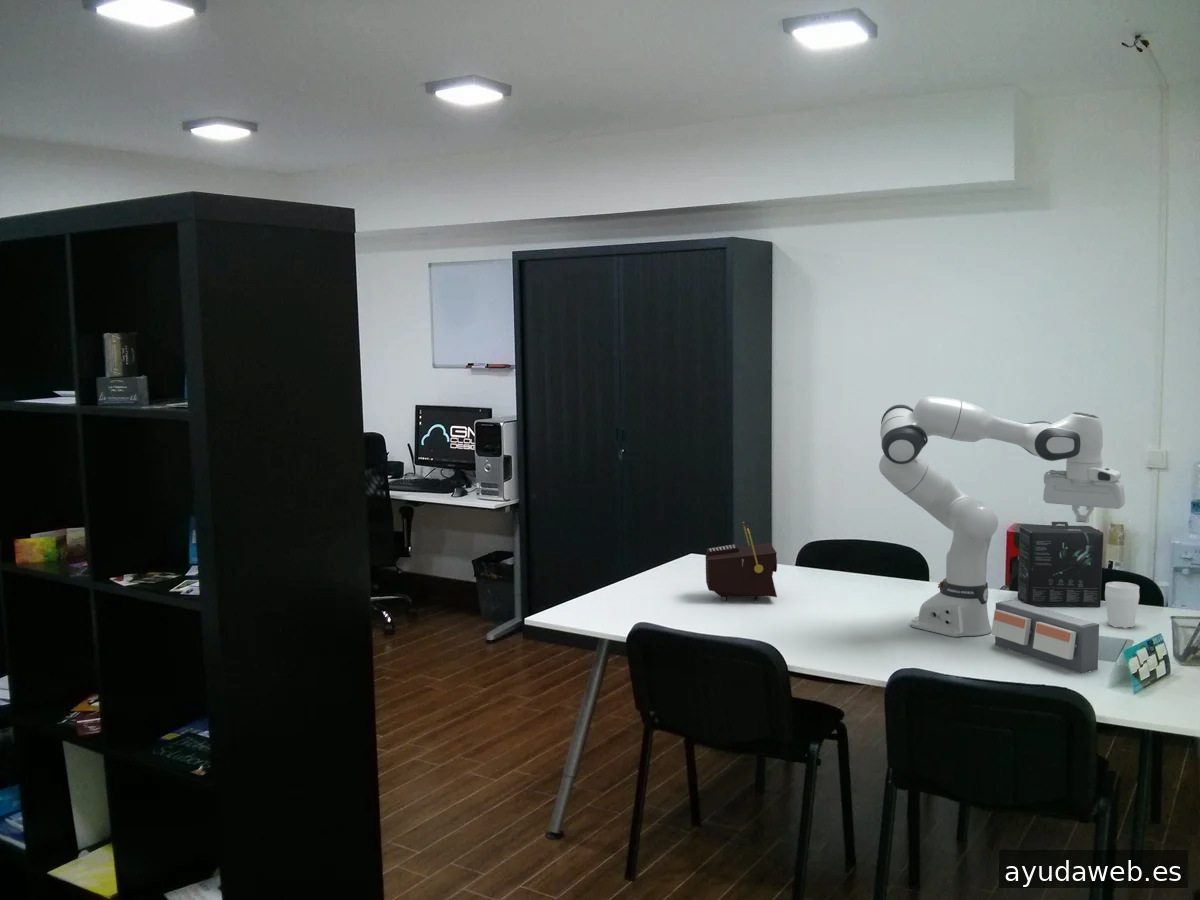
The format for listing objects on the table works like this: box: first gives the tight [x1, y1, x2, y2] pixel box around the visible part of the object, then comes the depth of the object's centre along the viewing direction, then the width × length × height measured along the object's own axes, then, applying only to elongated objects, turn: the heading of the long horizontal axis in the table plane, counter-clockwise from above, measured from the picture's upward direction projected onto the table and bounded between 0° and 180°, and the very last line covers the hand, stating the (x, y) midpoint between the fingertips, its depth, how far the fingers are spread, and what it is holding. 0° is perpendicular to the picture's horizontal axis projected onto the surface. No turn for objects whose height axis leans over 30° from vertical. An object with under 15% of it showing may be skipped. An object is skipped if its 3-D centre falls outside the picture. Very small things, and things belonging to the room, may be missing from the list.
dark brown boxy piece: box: [705, 521, 778, 602], centre depth 339 cm, size 16×23×25 cm
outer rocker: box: [1033, 622, 1077, 659], centre depth 264 cm, size 3×12×7 cm, turn 26°
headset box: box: [1017, 521, 1104, 608], centre depth 324 cm, size 22×12×26 cm, turn 84°
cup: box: [1104, 581, 1140, 629], centre depth 298 cm, size 9×9×12 cm
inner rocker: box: [990, 609, 1032, 645], centre depth 276 cm, size 3×12×7 cm, turn 26°
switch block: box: [994, 599, 1100, 675], centre depth 274 cm, size 12×28×12 cm, turn 26°
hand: (1082, 521), depth 280 cm, fingers closed
